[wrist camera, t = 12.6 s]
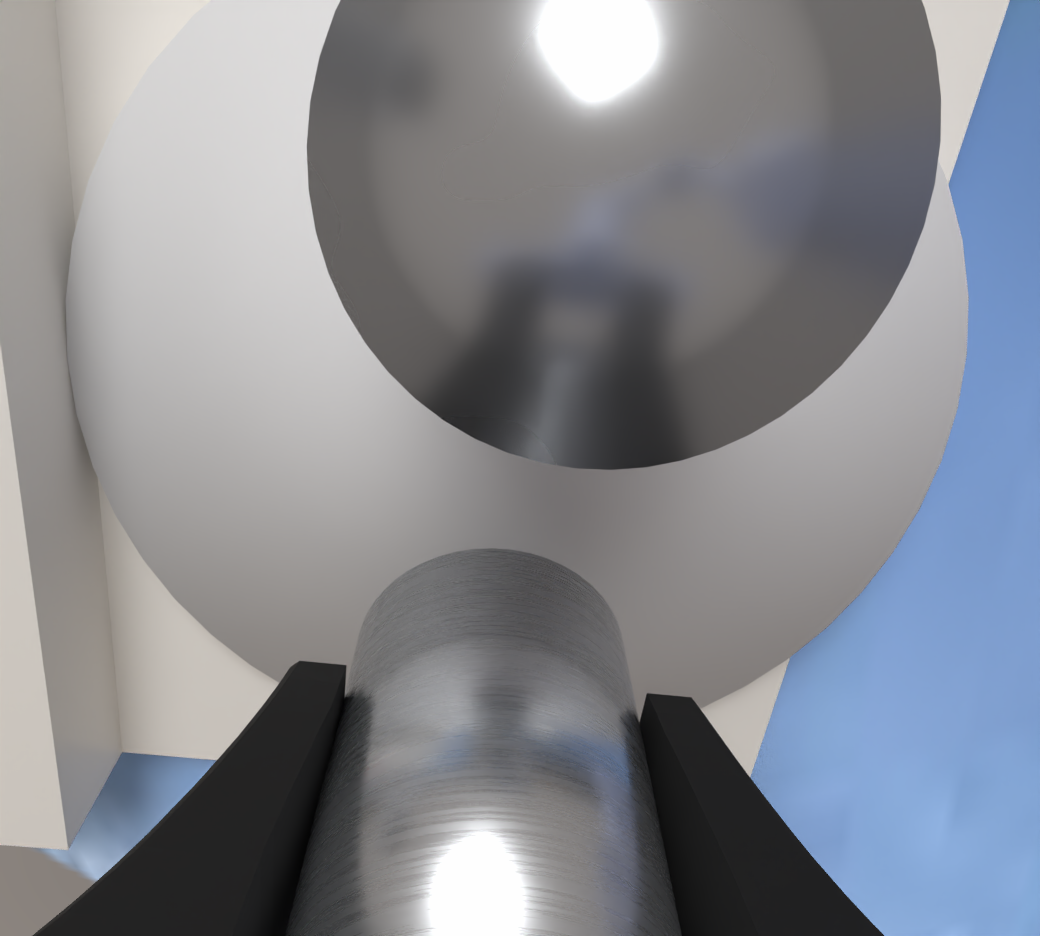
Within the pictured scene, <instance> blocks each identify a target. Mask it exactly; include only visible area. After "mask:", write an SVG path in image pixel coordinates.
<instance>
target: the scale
mask: <svg viewBox="0 0 1040 936" xmlns="http://www.w3.org/2000/svg"><path fill="white" fill-rule="evenodd" d="M1009 1H1010V0H922V2H923V5H924V7H925V11H926V15H927V19H928V23H929V27H930V31H931V35H932V39H933V42H934V46H935V50H936V57H937V66H938V74H939V83H940V91H941V142H940V149H939V157H938V164H937V172H936V179H935V186H934V189H933V193H932V197H931V201H930V205H929V209H928V213H927V217H926V220H925V224H924V228H923V230H922V233H921V235H920V238H919V240H918V243H917V246H916V248H915V251H914V253H913V256H912V259H911V261H910V264H909V266H908V268H907V270H906V272H905V274H904V276H903V278H902V279H901V281H900V283H899V285H898V287H897V289H896V291H895V293H894V295H893V297H892V299H891V300H890V302H889V304H888V305H887V307H886V308H885V310H884V311H883V313H882V314H881V316H880V317H879V319H878V320H877V322H876V323H875V325H874V326H873V327H872V329H871V330H870V332H869V333H868V335H867V336H866V337H865V339H864V340H863V341H862V342H861V343H860V344H859V346H858V347H857V348H856V349H855V350H854V352H853V353H852V354H851V355H850V356H849V357H848V359H847V360H846V361H845V362H844V363H843V364H842V366H841V367H840V368H839V369H837V370H836V371H835V372H834V373H833V374H832V375H831V376H830V377H829V378H828V379H827V380H826V381H825V382H824V383H823V384H821V385H820V386H819V387H818V388H817V389H816V390H815V391H814V392H813V393H812V394H810V395H809V396H808V397H806V398H805V399H804V400H802V401H801V402H800V403H798V404H797V405H796V406H794V407H793V408H792V409H790V410H789V411H788V412H786V413H785V414H784V415H782V416H781V417H779V418H777V419H776V420H774V421H772V422H771V423H769V424H767V425H765V426H764V427H762V428H760V429H759V430H757V431H755V432H753V433H752V434H750V435H748V436H746V437H743V438H741V439H739V440H737V441H734V442H732V443H730V444H728V445H726V446H723V447H721V448H719V449H717V450H714V451H710V452H707V453H704V454H701V455H698V456H694V457H691V458H688V459H685V460H682V461H677V462H672V463H666V464H661V465H656V466H651V467H644V468H631V469H617V470H601V469H578V468H570V467H564V466H558V465H552V464H546V463H541V462H537V461H534V460H530V459H527V458H524V457H520V456H517V455H513V454H510V453H507V452H504V451H502V450H500V449H497V448H495V447H493V446H490V445H488V444H486V443H484V442H481V441H479V440H477V439H474V438H473V437H471V436H469V435H468V434H466V433H464V432H462V431H461V430H459V429H457V428H456V427H454V426H452V425H450V424H449V423H447V422H445V421H444V420H442V419H441V418H440V417H438V416H437V415H436V414H435V413H433V412H432V411H431V410H429V409H428V408H427V407H425V406H424V405H423V404H421V403H420V402H419V401H418V400H416V399H415V398H414V397H413V396H412V395H411V394H410V393H409V392H408V391H407V390H406V389H405V388H404V387H403V386H402V385H401V384H400V383H399V382H398V381H397V380H396V379H395V378H394V377H393V376H392V375H391V374H390V373H389V372H388V371H387V370H386V369H385V367H384V366H383V365H382V364H381V362H380V361H379V360H378V359H377V357H376V356H375V355H374V354H373V352H372V351H371V350H370V348H369V347H368V346H367V345H366V343H365V342H364V340H363V339H362V337H361V335H360V334H359V332H358V331H357V329H356V327H355V326H354V324H353V322H352V321H351V319H350V317H349V316H348V314H347V312H346V311H345V309H344V307H343V305H342V302H341V300H340V298H339V296H338V293H337V291H336V289H335V287H334V284H333V282H332V280H331V278H330V275H329V273H328V270H327V267H326V264H325V261H324V257H323V254H322V251H321V247H320V244H319V241H318V238H317V234H316V230H315V224H314V218H313V213H312V207H311V201H310V195H309V187H308V165H307V135H308V123H309V110H310V100H311V95H312V90H313V85H314V81H315V76H316V71H317V66H318V61H319V56H320V53H321V51H322V48H323V45H324V42H325V39H326V36H327V33H328V30H329V27H330V24H331V22H332V19H333V16H334V13H335V10H336V8H337V6H338V4H339V2H340V0H0V845H8V846H23V847H35V848H48V849H61V850H68V849H69V848H70V846H71V844H72V842H73V840H74V839H75V837H76V835H77V833H78V831H79V830H80V828H81V826H82V824H83V822H84V821H85V819H86V817H87V815H88V813H89V811H90V810H91V808H92V806H93V804H94V802H95V801H96V799H97V797H98V795H99V793H100V792H101V790H102V788H103V786H104V784H105V783H106V781H107V779H108V777H109V775H110V773H111V772H112V770H113V768H114V766H115V764H116V763H117V761H118V759H119V757H120V755H121V754H122V752H126V753H138V754H150V755H161V756H173V757H185V758H197V759H209V760H218V759H219V757H220V756H221V755H222V754H223V753H224V752H225V751H226V749H227V748H228V747H229V746H230V745H231V744H232V742H233V741H234V740H235V739H236V738H237V737H238V736H239V734H240V733H241V732H242V731H243V729H244V728H245V727H246V726H247V725H248V723H249V722H250V721H251V720H252V718H253V717H254V716H255V715H256V713H257V712H258V711H259V710H260V708H261V707H262V706H263V704H264V703H265V702H266V700H267V699H268V698H269V696H270V695H271V694H272V692H273V691H274V690H275V688H276V687H277V686H278V684H279V683H280V681H281V680H282V679H283V677H284V676H285V674H286V673H287V671H288V670H289V668H290V667H291V666H292V665H294V664H295V663H297V662H298V661H308V662H319V663H330V664H341V665H346V683H345V689H346V685H347V681H348V677H349V673H350V669H351V665H352V661H353V657H354V653H355V649H356V644H357V640H358V636H359V632H360V629H361V627H362V624H363V621H364V618H365V616H366V615H367V613H368V611H369V609H370V607H371V606H372V604H373V603H374V602H375V600H376V599H377V598H378V596H379V595H380V594H381V593H382V592H383V591H384V590H385V589H386V588H387V587H388V586H389V585H390V584H391V583H392V582H393V581H394V580H396V579H397V578H398V577H400V576H401V575H403V574H404V573H405V572H407V571H409V570H410V569H412V568H414V567H416V566H418V565H419V564H421V563H424V562H426V561H429V560H431V559H433V558H436V557H439V556H442V555H446V554H450V553H453V552H458V551H465V550H471V549H488V548H496V549H509V550H516V551H521V552H527V553H531V554H535V555H538V556H541V557H544V558H547V559H550V560H552V561H554V562H556V563H559V564H561V565H563V566H565V567H567V568H568V569H570V570H572V571H573V572H575V573H577V574H578V575H580V576H581V577H582V578H583V579H585V580H586V581H587V582H588V583H590V584H591V585H592V586H593V587H594V588H595V589H596V590H597V591H598V592H599V593H600V595H601V596H602V597H603V598H604V600H605V601H606V602H607V604H608V605H609V607H610V608H611V610H612V612H613V614H614V616H615V618H616V620H617V622H618V625H619V628H620V631H621V634H622V638H623V643H624V648H625V653H626V658H627V663H628V668H629V673H630V678H631V683H632V689H633V694H634V699H635V704H636V709H637V714H638V719H639V722H640V718H641V714H642V710H643V706H644V702H645V698H646V694H647V693H651V694H662V695H672V696H683V697H692V699H693V700H694V701H695V702H696V704H697V705H698V706H699V708H700V709H701V711H702V712H703V713H704V715H705V716H706V717H707V719H708V720H709V722H710V723H711V724H712V726H713V727H714V729H715V730H716V731H717V733H718V734H719V736H720V737H721V738H722V740H723V741H724V743H725V744H726V745H727V747H728V748H729V749H730V751H731V752H732V754H733V755H734V756H735V758H736V759H737V760H738V762H739V763H740V765H741V766H742V767H743V769H744V770H745V771H746V773H747V774H748V775H749V777H750V776H751V773H752V770H753V767H754V764H755V761H756V758H757V755H758V752H759V749H760V746H761V743H762V740H763V737H764V734H765V731H766V728H767V725H768V722H769V719H770V716H771V713H772V710H773V707H774V704H775V701H776V698H777V695H778V692H779V689H780V686H781V683H782V680H783V677H784V674H785V671H786V668H787V665H788V662H789V659H790V657H791V656H792V655H793V654H795V653H796V652H797V651H798V650H800V649H801V648H802V647H803V646H805V645H806V644H807V643H808V642H810V641H811V640H812V639H813V638H815V637H816V636H817V635H818V634H819V633H821V632H822V631H823V630H824V629H826V628H827V627H828V626H829V625H830V624H831V623H832V622H833V621H834V620H835V619H836V618H837V617H838V616H839V615H840V614H841V613H842V612H843V611H844V610H845V609H846V608H847V607H848V606H849V605H850V604H851V603H852V602H853V601H854V599H855V598H856V597H857V596H858V595H859V594H860V593H861V592H862V591H863V590H864V589H865V587H866V586H867V585H868V583H869V582H870V581H871V580H872V578H873V577H874V576H875V575H876V573H877V572H878V571H879V569H880V568H881V567H882V566H883V564H884V563H885V562H886V561H887V559H888V558H889V557H890V556H891V554H892V553H893V551H894V550H895V548H896V546H897V545H898V543H899V542H900V540H901V538H902V537H903V535H904V533H905V532H906V530H907V528H908V527H909V525H910V524H911V522H912V520H913V519H914V517H915V515H916V514H917V512H918V510H919V509H920V507H921V504H922V502H923V500H924V498H925V496H926V493H927V491H928V489H929V487H930V485H931V482H932V480H933V478H934V476H935V474H936V471H937V469H938V467H939V465H940V463H941V460H942V457H943V454H944V451H945V447H946V444H947V441H948V438H949V434H950V431H951V428H952V425H953V421H954V418H955V415H956V412H957V408H958V402H959V396H960V390H961V385H962V379H963V373H964V367H965V361H966V355H967V328H968V298H969V297H968V288H967V279H966V270H965V260H964V251H963V242H962V236H961V232H960V229H959V225H958V221H957V217H956V213H955V209H954V205H953V201H952V197H951V194H950V190H949V186H948V184H949V181H950V178H951V175H952V172H953V169H954V166H955V163H956V160H957V157H958V154H959V151H960V148H961V145H962V142H963V139H964V136H965V133H966V130H967V127H968V124H969V121H970V118H971V115H972V112H973V109H974V106H975V103H976V100H977V97H978V94H979V91H980V88H981V85H982V82H983V79H984V76H985V73H986V70H987V67H988V64H989V61H990V58H991V55H992V52H993V49H994V46H995V43H996V40H997V37H998V34H999V31H1000V28H1001V25H1002V22H1003V19H1004V16H1005V13H1006V10H1007V7H1008V4H1009Z"/></svg>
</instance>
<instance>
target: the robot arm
mask: <svg viewBox="0 0 1040 936" xmlns="http://www.w3.org/2000/svg"><path fill="white" fill-rule="evenodd" d="M345 683H346V665H341V664H330V663H319V662H308V661H298V662H297V663H295V664H294V665H292V666H291V667H290V668H289V670H288V671H287V673H286V674H285V676H284V677H283V679H282V680H281V681H280V683H279V684H278V686H277V687H276V688H275V690H274V691H273V692H272V694H271V695H270V696H269V698H268V699H267V700H266V702H265V703H264V704H263V706H262V707H261V708H260V710H259V711H258V712H257V713H256V715H255V716H254V717H253V718H252V720H251V721H250V722H249V723H248V725H247V726H246V727H245V728H244V729H243V731H242V732H241V733H240V734H239V736H238V737H237V738H236V739H235V740H234V741H233V742H232V744H231V745H230V746H229V747H228V748H227V749H226V751H225V752H224V753H223V754H222V755H221V756H220V757H219V759H218V760H217V761H216V762H215V763H214V764H213V766H212V767H211V768H210V769H209V770H208V771H207V772H206V774H205V775H204V776H203V777H202V778H201V779H200V780H199V781H198V782H197V783H196V785H195V786H194V787H193V788H192V789H191V790H190V791H189V792H188V793H187V794H186V795H185V796H184V797H183V798H182V799H181V800H180V801H179V802H178V803H177V804H176V805H175V806H174V807H173V808H172V809H171V810H170V811H169V813H168V814H167V815H166V816H165V817H164V818H163V819H162V820H161V821H160V822H159V823H158V824H157V825H156V826H155V827H154V828H153V829H152V830H151V831H150V832H149V833H148V834H147V835H146V836H145V837H144V838H143V839H142V840H141V841H140V842H139V843H138V844H137V845H136V846H135V847H134V848H132V849H131V850H130V851H129V852H128V853H127V854H126V855H125V856H124V857H123V858H122V859H121V860H120V861H119V862H118V863H117V864H115V865H114V866H113V867H112V868H111V869H110V870H109V871H108V872H107V873H106V874H104V875H103V876H102V877H101V878H100V879H99V880H98V881H97V882H95V883H94V884H93V885H92V886H91V887H90V888H89V889H88V890H86V891H85V892H84V893H83V894H82V895H81V896H80V897H79V898H77V899H76V900H75V901H74V902H73V903H72V904H70V905H69V906H68V907H67V908H66V909H64V910H63V911H62V912H61V913H59V915H57V916H56V917H55V918H53V919H52V920H51V921H50V922H49V923H47V924H46V925H45V926H44V927H42V928H41V929H40V930H39V931H38V932H36V933H35V934H34V935H33V936H285V935H286V931H287V927H288V923H289V919H290V915H291V910H292V906H293V902H294V898H295V894H296V890H297V886H298V882H299V878H300V874H301V869H302V865H303V861H304V857H305V853H306V849H307V845H308V841H309V837H310V833H311V829H312V824H313V820H314V816H315V812H316V808H317V804H318V800H319V796H320V792H321V789H322V785H323V782H324V778H325V774H326V771H327V767H328V763H329V760H330V756H331V752H332V748H333V744H334V740H335V736H336V732H337V727H338V723H339V719H340V715H341V711H342V707H343V703H344V699H345ZM639 724H640V729H641V734H642V739H643V744H644V749H645V754H646V759H647V764H648V769H649V774H650V779H651V784H652V789H653V794H654V799H655V804H656V809H657V814H658V819H659V824H660V829H661V834H662V839H663V844H664V849H665V854H666V859H667V864H668V869H669V874H670V879H671V884H672V889H673V894H674V899H675V904H676V909H677V914H678V919H679V924H680V929H681V934H682V936H884V935H883V934H882V933H881V932H880V931H879V930H878V929H877V928H876V927H875V926H874V925H873V924H872V923H871V922H870V921H869V920H868V919H867V917H866V916H865V915H864V914H863V913H862V912H861V911H860V910H859V909H858V908H857V907H856V906H855V905H854V903H853V902H852V901H851V900H850V899H849V898H848V897H847V896H846V895H845V894H844V893H843V891H842V890H841V889H840V888H839V887H838V886H837V884H836V883H835V882H834V881H833V880H832V879H831V878H830V876H829V875H828V874H827V873H826V872H825V871H824V870H823V868H822V867H821V866H820V865H819V864H818V863H817V862H816V860H815V859H814V858H813V857H812V856H811V855H810V853H809V852H808V851H807V850H806V848H805V847H804V846H803V845H802V844H801V842H800V841H799V840H798V839H797V838H796V836H795V835H794V834H793V832H792V831H791V830H790V829H789V827H788V826H787V825H786V824H785V822H784V821H783V820H782V818H781V817H780V816H779V815H778V813H777V812H776V811H775V810H774V808H773V807H772V806H771V804H770V803H769V802H768V801H767V799H766V798H765V797H764V795H763V794H762V793H761V791H760V790H759V789H758V788H757V786H756V785H755V784H754V782H753V781H752V780H751V778H750V777H749V775H748V774H747V773H746V771H745V770H744V769H743V767H742V766H741V765H740V763H739V762H738V760H737V759H736V758H735V756H734V755H733V754H732V752H731V751H730V749H729V748H728V747H727V745H726V744H725V743H724V741H723V740H722V738H721V737H720V736H719V734H718V733H717V731H716V730H715V729H714V727H713V726H712V724H711V723H710V722H709V720H708V719H707V717H706V716H705V715H704V713H703V712H702V711H701V709H700V708H699V706H698V705H697V704H696V702H695V701H694V700H693V699H692V697H683V696H672V695H662V694H651V693H647V694H646V698H645V702H644V706H643V710H642V714H641V718H640V722H639Z"/></svg>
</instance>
